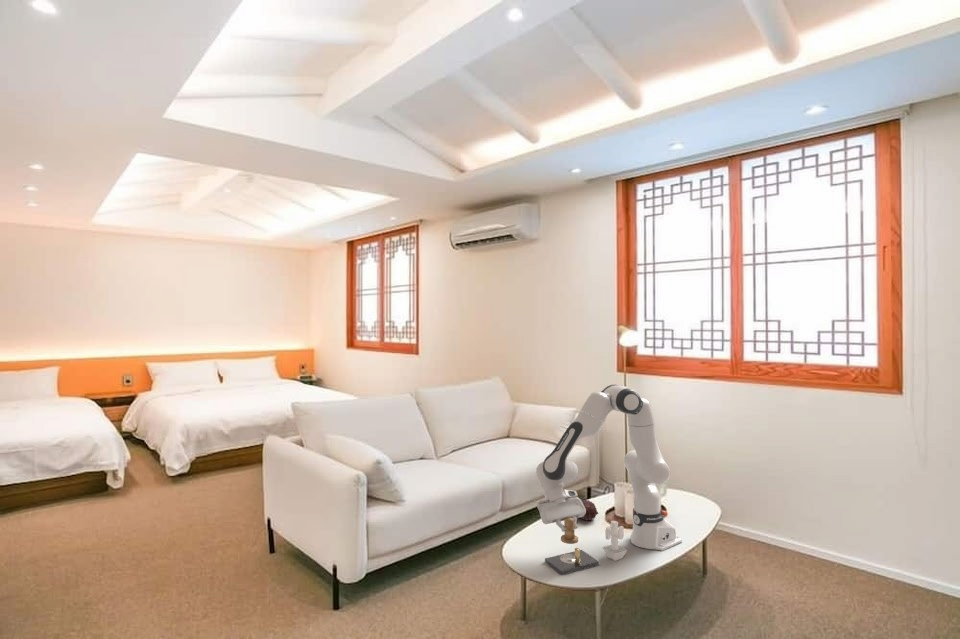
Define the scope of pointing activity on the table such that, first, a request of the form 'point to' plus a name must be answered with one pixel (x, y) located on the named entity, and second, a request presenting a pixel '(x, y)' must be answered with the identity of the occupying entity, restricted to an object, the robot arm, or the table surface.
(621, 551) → the figurine
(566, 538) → the flange hub
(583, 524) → the table surface
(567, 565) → the base plate
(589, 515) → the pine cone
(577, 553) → the dowel
